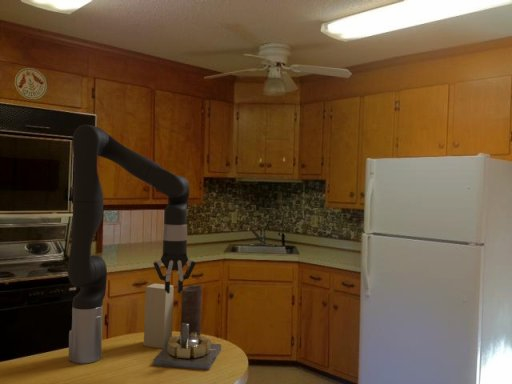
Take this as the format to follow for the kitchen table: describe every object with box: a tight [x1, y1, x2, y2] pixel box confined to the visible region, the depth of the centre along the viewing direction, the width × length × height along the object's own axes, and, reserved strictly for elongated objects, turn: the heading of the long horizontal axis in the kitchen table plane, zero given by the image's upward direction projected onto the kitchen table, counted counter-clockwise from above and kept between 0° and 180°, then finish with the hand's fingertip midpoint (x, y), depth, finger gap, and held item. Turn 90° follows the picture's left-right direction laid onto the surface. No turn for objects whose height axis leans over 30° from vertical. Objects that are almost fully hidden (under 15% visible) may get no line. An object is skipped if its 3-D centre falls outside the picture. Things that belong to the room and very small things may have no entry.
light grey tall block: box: [143, 283, 175, 349], centre depth 168 cm, size 8×7×21 cm
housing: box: [153, 336, 222, 371], centre depth 156 cm, size 18×18×6 cm
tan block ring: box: [167, 323, 212, 358], centre depth 156 cm, size 14×14×10 cm
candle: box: [179, 284, 203, 336], centre depth 172 cm, size 8×7×20 cm
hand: (173, 292), depth 149 cm, fingers open, 3 cm apart
